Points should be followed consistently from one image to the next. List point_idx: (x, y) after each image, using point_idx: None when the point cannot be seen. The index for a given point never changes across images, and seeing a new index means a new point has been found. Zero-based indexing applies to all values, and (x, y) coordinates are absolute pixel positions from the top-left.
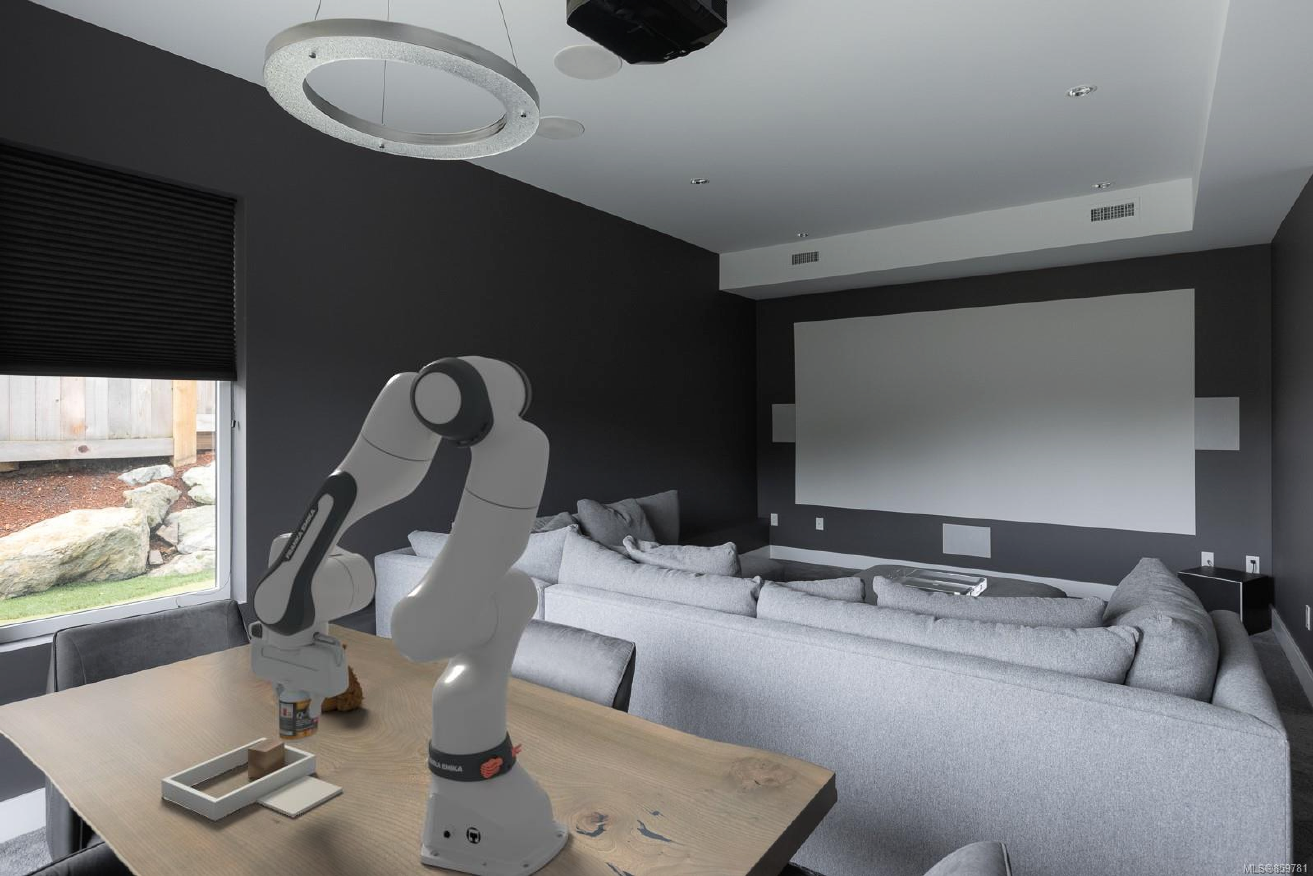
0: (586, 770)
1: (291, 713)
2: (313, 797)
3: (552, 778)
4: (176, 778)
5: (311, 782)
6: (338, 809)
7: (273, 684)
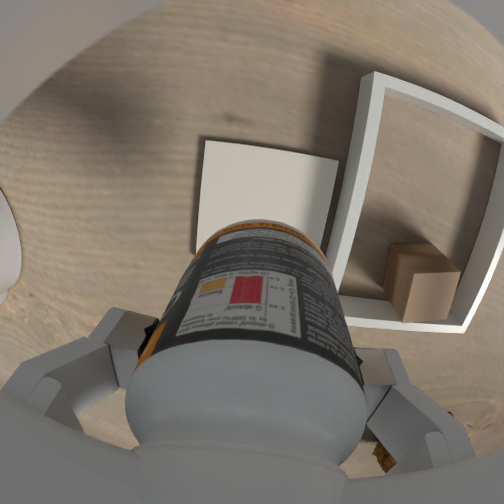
0: (10, 364)
1: (198, 293)
2: (221, 210)
3: (14, 349)
4: None
5: None
6: (150, 202)
7: (459, 442)
